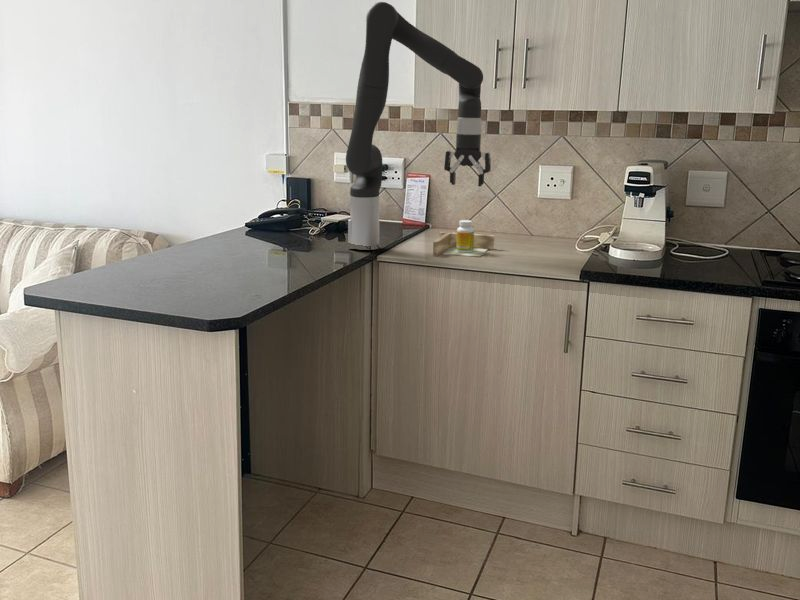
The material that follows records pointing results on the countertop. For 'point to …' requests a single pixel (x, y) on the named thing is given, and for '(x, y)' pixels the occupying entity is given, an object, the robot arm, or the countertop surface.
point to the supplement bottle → (465, 237)
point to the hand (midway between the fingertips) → (466, 185)
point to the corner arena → (450, 240)
